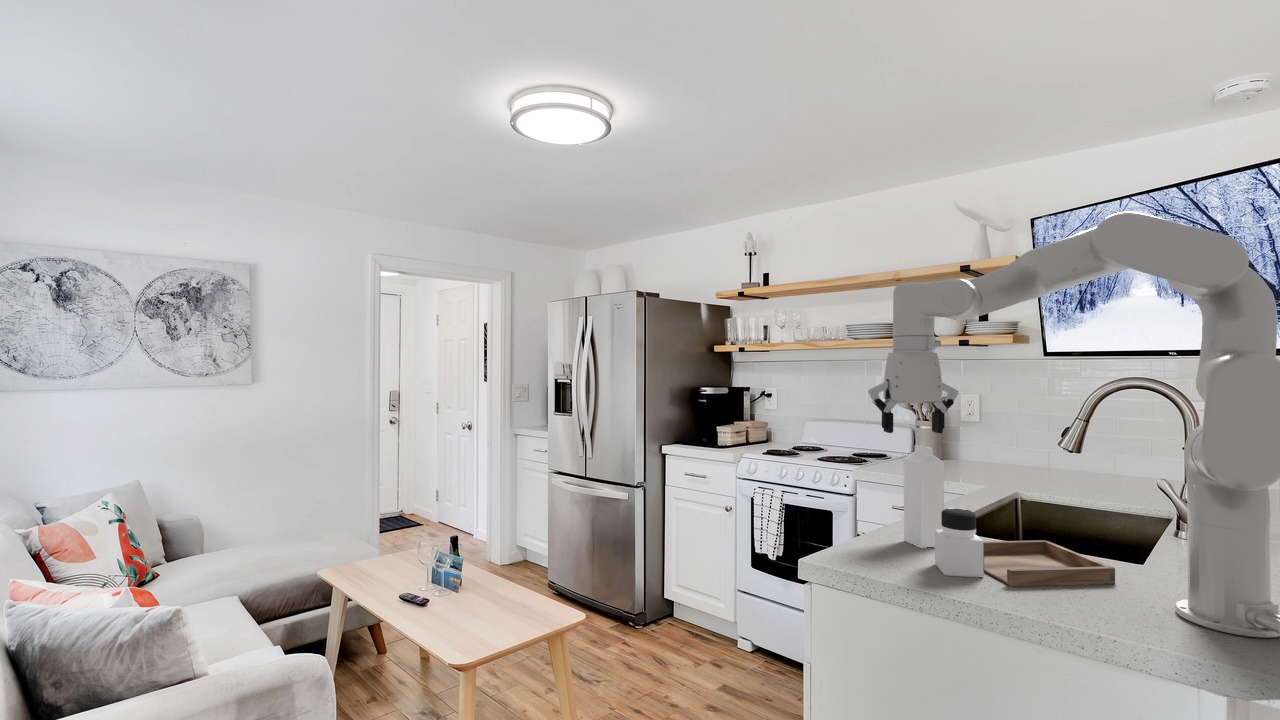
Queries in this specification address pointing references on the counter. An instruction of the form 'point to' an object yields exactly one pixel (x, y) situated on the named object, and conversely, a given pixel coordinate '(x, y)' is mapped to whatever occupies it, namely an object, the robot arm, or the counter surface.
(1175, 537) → the counter surface
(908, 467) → the milk
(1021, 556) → the walnut tray
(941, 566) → the medicine bottle
